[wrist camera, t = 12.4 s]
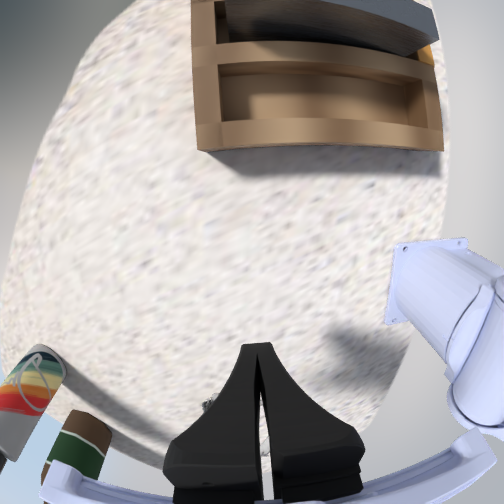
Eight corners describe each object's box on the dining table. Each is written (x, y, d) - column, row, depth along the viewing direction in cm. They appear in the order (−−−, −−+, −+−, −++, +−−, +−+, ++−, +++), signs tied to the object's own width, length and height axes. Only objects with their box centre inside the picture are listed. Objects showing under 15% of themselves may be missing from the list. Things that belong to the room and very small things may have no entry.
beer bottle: (115, 444, 30) (82, 561, 7) (73, 426, 29) (30, 534, 6) (111, 421, 28) (67, 559, 5) (64, 400, 27) (7, 523, 4)
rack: (387, -13, 12) (404, -30, 9) (420, 150, 18) (448, 151, 14) (197, -27, 12) (191, -51, 9) (205, 152, 18) (196, 149, 14)
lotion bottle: (62, 351, 24) (-18, 479, 5) (71, 383, 25) (11, 501, 6) (29, 336, 23) (-54, 443, 4) (39, 369, 25) (-26, 471, 6)
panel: (384, 41, 14) (431, 9, 8) (387, 66, 15) (439, 39, 8) (231, 19, 14) (226, -35, 7) (229, 45, 15) (223, -6, 8)
